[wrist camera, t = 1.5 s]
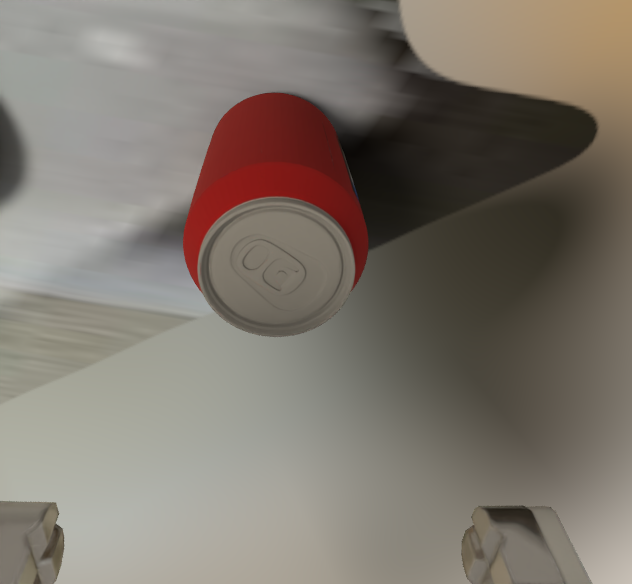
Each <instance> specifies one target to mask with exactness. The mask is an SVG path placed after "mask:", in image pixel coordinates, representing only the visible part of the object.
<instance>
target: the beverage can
mask: <svg viewBox="0 0 632 584" xmlns="http://www.w3.org/2000/svg"><path fill="white" fill-rule="evenodd" d="M183 249H184V256H185V261H186V264H187V267H188V270H189V272H190V275H191V277H192V279H193V280H194V282H195V284H196V285H197V287H198V288H199V290H200V291H201V292H202V293H203V295H204V297H205V299H206V301H207V302H208V304H209V305H210V306H211V308H212V309H213V310H214V311H215V312H216V313H217V314H218V315H219V316H220V317H221V318H222V319H224V320H225V321H226V322H228V323H230V324H231V325H233V326H235V327H236V328H239V329H242V330H243V331H246V332H249V333H252V334H256V335H262V336H270V337H282V336H291V335H296V334H300V333H304V332H307V331H310V330H312V329H314V328H316V327H318V326H320V325H322V324H323V323H325V322H326V321H328V320H329V319H330V318H331V317H332V316H334V315H335V314H336V313H337V312H338V311H339V310H340V308H341V307H342V306H343V305H344V303H345V302H346V300H347V298H348V296H349V295H350V292H351V291H352V290H353V288H354V287H355V285H356V284H357V282H358V280H359V278H360V277H361V274H362V272H363V270H364V266H365V264H366V260H367V255H368V233H367V227H366V224H365V220H364V217H363V213H362V210H361V206H360V203H359V200H358V196H357V193H356V190H355V186H354V183H353V180H352V177H351V174H350V171H349V168H348V165H347V162H346V159H345V156H344V153H343V150H342V147H341V144H340V142H339V139H338V136H337V134H336V131H335V129H334V127H333V126H332V124H331V123H330V121H329V120H328V118H327V117H326V116H325V115H324V114H323V113H322V112H321V111H320V110H319V109H318V108H316V107H315V106H314V105H312V104H311V103H309V102H308V101H306V100H304V99H301V98H299V97H296V96H293V95H289V94H283V93H265V94H260V95H255V96H252V97H250V98H247V99H245V100H243V101H241V102H240V103H238V104H237V105H235V106H234V107H233V108H231V109H230V110H229V111H228V112H227V113H226V114H225V115H224V116H223V118H222V119H221V120H220V122H219V123H218V125H217V127H216V129H215V131H214V134H213V136H212V139H211V142H210V145H209V148H208V151H207V154H206V157H205V160H204V163H203V166H202V169H201V173H200V176H199V179H198V182H197V186H196V189H195V192H194V196H193V199H192V203H191V206H190V210H189V214H188V217H187V221H186V225H185V229H184V237H183Z"/></svg>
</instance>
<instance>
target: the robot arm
mask: <svg viewBox="0 0 632 584" xmlns="http://www.w3.org/2000/svg"><path fill="white" fill-rule="evenodd" d="M58 515H59V512H58V508H57V505H56V503H54V502H52V503H51V502H12V501H0V584H53V583H54V582H55V581H56V579H57V576H58V573H59V570H60V567H61V562H62V557H63V551H64V534H63V529H62V528H61V527H60V526H58V525H57V524H56V520H57V518H58ZM472 520H473V523H474V525H473V526H471V527H470V528H469V529H467V530H466V531H465V534H464V537H463V539H462V561H463V567H464V570H465V573H466V577H467V579H468V580H469V581H470V582H471V583H472V584H592V582H591V580H590V578H589V576H588V574H587V572H586V570H585V568H584V566H583V565H582V563H581V561H580V559H579V557H578V555H577V553H576V551H575V549H574V547H573V545H572V543H571V541H570V539H569V537H568V535H567V533H566V531H565V529H564V527H563V525H562V523H561V521H560V519H559V517H558V515H557V514H556V512H555V511H554V510H553V509H552V508H551V507H546V506H535V507H525V506H479V507H477V508H476V509H475V510H474V512H473V514H472Z"/></svg>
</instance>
